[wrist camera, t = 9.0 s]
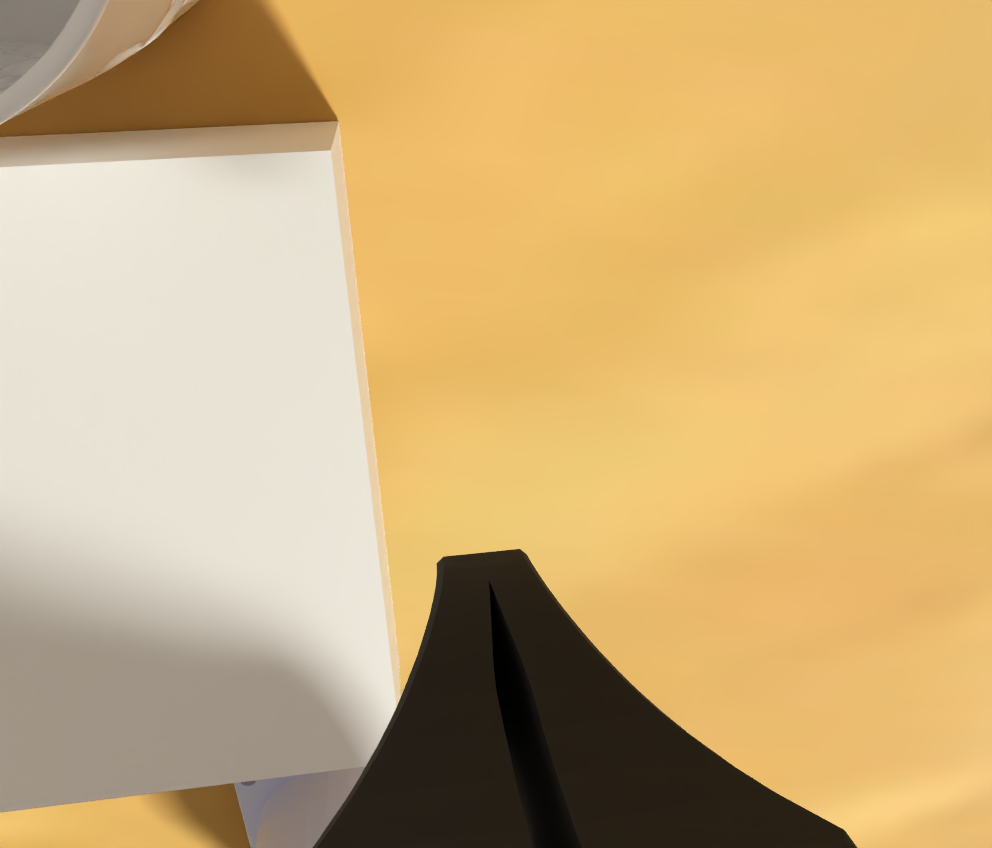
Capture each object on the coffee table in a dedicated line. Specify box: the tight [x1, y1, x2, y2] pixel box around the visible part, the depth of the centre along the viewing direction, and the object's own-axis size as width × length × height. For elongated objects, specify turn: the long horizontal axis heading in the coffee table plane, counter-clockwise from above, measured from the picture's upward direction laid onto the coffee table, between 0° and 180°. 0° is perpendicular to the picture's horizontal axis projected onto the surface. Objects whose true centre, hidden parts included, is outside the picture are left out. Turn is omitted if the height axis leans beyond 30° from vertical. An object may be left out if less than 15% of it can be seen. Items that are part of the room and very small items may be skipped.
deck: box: [0, 121, 401, 812], centre depth 21 cm, size 17×12×4 cm
